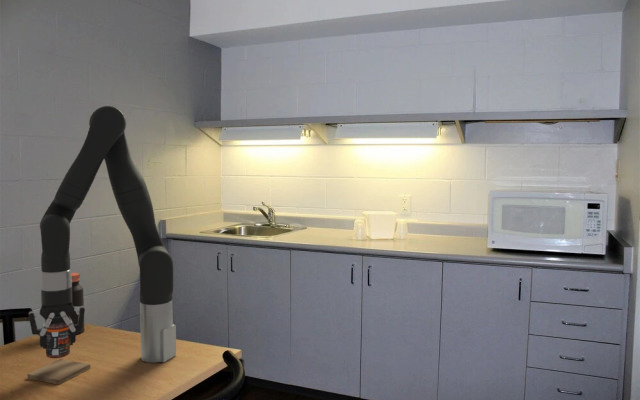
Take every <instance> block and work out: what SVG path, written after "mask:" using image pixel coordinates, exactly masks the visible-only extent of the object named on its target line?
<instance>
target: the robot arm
mask: <svg viewBox="0 0 640 400" xmlns="http://www.w3.org/2000/svg"><path fill="white" fill-rule="evenodd" d="M88 122H89V125H88V126H89V128H88V132H87V135H86V138H85V140H84V142H83V145H82V147H81V149H80V151H79V152H78V154H77V156H76V158H75V160H73V162H72V163H71V165H70V167H69V168H68V170H67V172H66V173H65V175H64V177H63V179H62V181H61V183H60V185H59V187H58V189H57V191H56V193H55V195H54V198H53V200H52V201H51V203H50V205H49V206H48V207H47V209H46V211H45V212H44V214H43V215H42V217H41V220H40V222H39V229H40V238H41V239H40V240H41V241H40V242H41V258H40V264H41V265H40V266H41V270H40V271H41V274H40V298H41V300H40V301H41V303H40V304H41V308H40V309H39V310H35V311H33V310H30V311H29V312H28V320H29V324H30V325H29V326H30V329H31V330H30V331H31V333H32V335H33V336H35V335H38V336H39V346H40V348H42V349H43V350H46V331H47V328H48V327H49V325H50V323H52V322H51V321H52V319H53V317H56V316H62V318H63V319H64V321H65V323H66V324H67V326H69V329H70V346H73V345H74V344H75V343H76V340H77V339H76V338H77V337H76V335H75V332H76V330H78V329H82V327H83V320H84V321H85V311H86V309H85V305H84V306H80V307H74V305H73V304H72V277H71V273H72V271H71V254H70V253H71V252H70V243H71V242H70V241H71V226H70V225H71V222H72V220H73V218H74V216H75V213H76V211H78V209H79V208H80V207H81V206H82V204H83V203H84V201H85V199H86V197H87V195H88V193H89V191H90V189H91V187H92V185H93V183H94V181H95V178H96V176H97V173H98V172H99V169H100V167H101V165H102V163H103V161H104V163H105V166H106V170H107V171H106V172H107V174H108V179H109V180H108V181H109V183H110V186H111V189H112V192H113V196H114V198H115V202H116V205H117V207H118V210H119V213H120V214H121V216H122V218H123V222H124V223H125V225H126V226H127V228H128V230H129V232H130V234H131V237H132V240H133V243H134V248H135V250H136V257H137V263H138V267H139V316H140V317H139V320H140V321H139V322H140V327H139V328H140V358H141V361H142V362H145V363H153V364H154V363H166V362H168V361H169V360H170V359H172V358H174V357H175V356H177V328H176V327H177V325H176V324H174V320H173V319H174V318H173V317H174V315H173V313H174V311H173V293H174V261H173V258H172V256H171V254H170V253H169V252H168V250H167V249H166V247H165V244H164V242H163V240H162V238H161V236H160V233H159V231H158V228H157V223H156V218H155V212H154V207H153V202H152V199H151V195H150V192H149V189H148V186H147V184H146V183H147V182H146V181H145V179H144V176H143V174H142V172H141V171H140V168H139V167H138V164H137V163H136V161H135V160H134V158H133V156H132V154H131V151H130V148H129V144H128V141H127V136H126V131H125V130H126V128H127V120H126V117H125V114H124V113H123V112H122V111H121V110H120V109H119V108H117V107H115V106H112V105H104V106H101V107H98V108H96V109H95V110H94V111H93V112H92V114H91V115H90V117H89V121H88ZM73 311H76V314H77V315H79V317H78V324H75V325H74V324H73V322H72V320H71V318H70V316H71V314H72V313H73ZM39 316H41V317H42V318H43V319H44V321H43V324H42V326H41V328H38V325H37V320H38V318H39Z"/></svg>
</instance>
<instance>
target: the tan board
mask: <svg viewBox="0 0 640 400" xmlns="http://www.w3.org/2000/svg"><path fill="white" fill-rule="evenodd" d="M90 369H91V364H90V363H85V362H79V361H74V360H68V359H64V358H63V359H62V358H58V359H57V360H55V361H53V362H50V363H49V364H46V365H44V366H42V367H39V368H37V369H35V370H33V371H30V372H28V373H27V379H28V380H34V381H38V382H39V381H40V382H45V383H50V384H55V385H61V384H63V383H65V382H67V381H69V380H71V379H73V378H75V377H77V376H79V375H80V374H83V373H85V372H87V371H89V370H90Z"/></svg>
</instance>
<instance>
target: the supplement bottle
mask: <svg viewBox="0 0 640 400" xmlns="http://www.w3.org/2000/svg"><path fill="white" fill-rule="evenodd" d="M51 322H52V323H50V325H49V327H48V328H47V331H46V349H45V354H46V355H45V356H46V357H47V358H48V359H62V358H64V357H67V356H69V354H70V353H71V345H70V329H69V326H67V324H66V323H65V321H64V319H63V318H62V316H56V317H53V319H52V321H51Z"/></svg>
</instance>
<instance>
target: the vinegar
mask: <svg viewBox="0 0 640 400" xmlns="http://www.w3.org/2000/svg"><path fill="white" fill-rule="evenodd" d="M80 275H81V274H80V273H79V272H71V277H72V304H73V305H74V307H80V306H84V307H85V305H84V303H85V302H84V301H85V300H84V287H83V286H82V285H81V284H80V282H81V281H80V280H81V278H80V277H81V276H80ZM78 317H79V315H77V314H76V311H73V313H72V314H71V316H70V318H71V320H72V322H73V324H74V325H75V324H78ZM84 332H85V319H84V320H83V327H82V329H78V330H76V332H75V335H80V334H83V333H84Z"/></svg>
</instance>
